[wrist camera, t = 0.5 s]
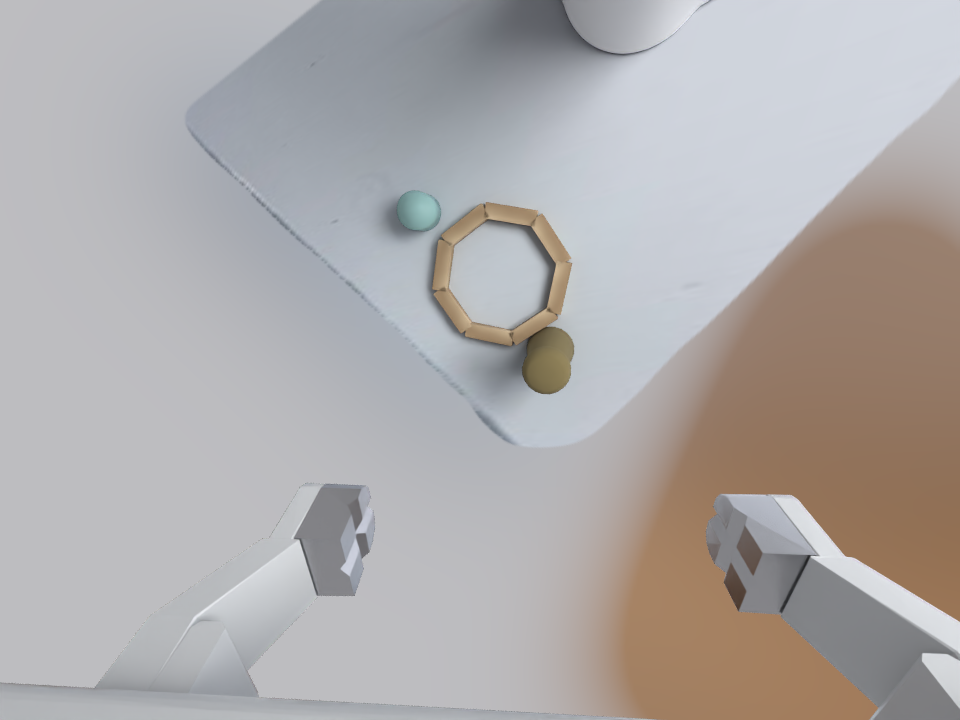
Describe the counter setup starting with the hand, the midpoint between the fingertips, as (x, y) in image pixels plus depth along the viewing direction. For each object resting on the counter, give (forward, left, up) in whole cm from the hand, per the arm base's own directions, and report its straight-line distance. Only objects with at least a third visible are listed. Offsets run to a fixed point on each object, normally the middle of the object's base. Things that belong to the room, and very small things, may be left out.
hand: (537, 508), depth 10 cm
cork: (+7, 0, -45) cm, 45 cm away
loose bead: (-7, -19, -44) cm, 49 cm away
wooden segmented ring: (-1, -8, -44) cm, 45 cm away
